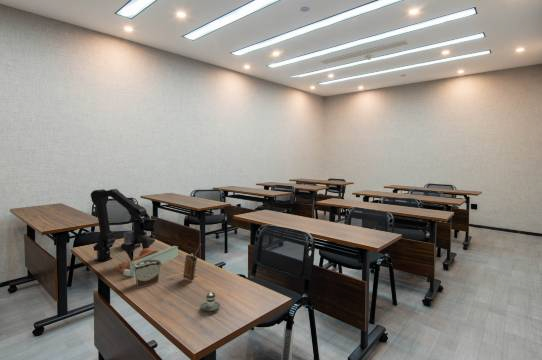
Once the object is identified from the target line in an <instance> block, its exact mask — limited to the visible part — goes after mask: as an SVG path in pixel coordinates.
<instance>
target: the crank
mask: <svg viewBox="0 0 542 360" xmlns="http://www.w3.org/2000/svg"><path fill="white" fill-rule="evenodd" d="M157 252H159V251H158V250H155V249H152V248H151V247H149V248H145V249H143V248H142V250H141V251H140V253H139V255H138V257H135V258H133V260H129V261H128V262H126V263H125V262H123V263H119V264H118V266H117V269H118V271H119V272H121V273H123V274H124V270H125V269H127V270H130V263H131V262H134V261H136V260H139V259H141V258H144V257H146V256H149V255H152V254H154V253H157Z"/></svg>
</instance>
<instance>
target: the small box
mask: <svg viewBox="0 0 542 360" xmlns="http://www.w3.org/2000/svg"><path fill="white" fill-rule="evenodd" d="M131 232H133V230H129V231H123V243H127V242H130V243H133V242H131V240H133V234H131ZM136 244H137V243H136ZM139 247H140V248H141V247H142V244H139V245H136V246H135V248H134V249H135V250H136V249H139Z"/></svg>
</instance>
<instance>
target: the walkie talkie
mask: <svg viewBox="0 0 542 360" xmlns="http://www.w3.org/2000/svg"><path fill="white" fill-rule="evenodd" d="M200 246H202V243H199V245H198V248H197V250H196V251H195V253H192V252H191V253H190V254H186V256H185V261H184V266H183V267H184V269H183V273H177V276H178V275H179V276H183V278H184V279H186V280H189V281H194V278H195V277H198V274H197V273H196V265H197V260H198V257H197V256H196V255H197V253H198V251H199V248H200ZM174 276H176V274H172V275H170V276H167V277H166V278H171V277H174Z"/></svg>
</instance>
